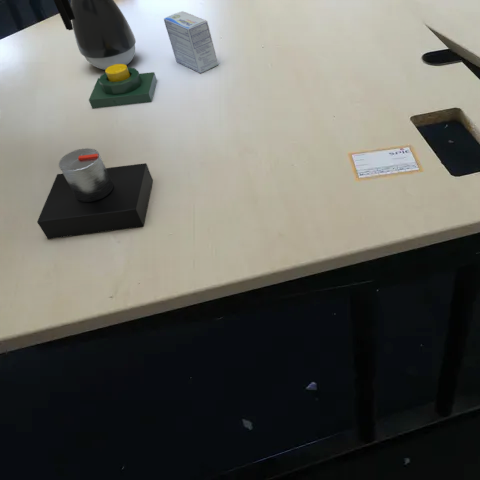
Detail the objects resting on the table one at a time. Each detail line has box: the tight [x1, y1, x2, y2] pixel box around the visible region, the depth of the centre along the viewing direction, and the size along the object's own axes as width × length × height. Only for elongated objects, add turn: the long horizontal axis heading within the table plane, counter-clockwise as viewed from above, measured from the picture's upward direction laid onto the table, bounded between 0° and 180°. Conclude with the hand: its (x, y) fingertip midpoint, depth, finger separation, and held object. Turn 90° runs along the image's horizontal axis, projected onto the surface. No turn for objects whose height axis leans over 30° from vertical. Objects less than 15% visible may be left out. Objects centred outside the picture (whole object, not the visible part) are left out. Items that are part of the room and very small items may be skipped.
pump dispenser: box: [70, 0, 136, 71], centre depth 98 cm, size 10×10×15 cm
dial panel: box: [36, 162, 154, 240], centre depth 71 cm, size 12×10×3 cm
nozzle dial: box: [58, 147, 113, 202], centre depth 68 cm, size 5×5×5 cm
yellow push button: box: [104, 64, 130, 82], centre depth 92 cm, size 4×4×2 cm
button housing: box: [88, 66, 158, 110], centre depth 93 cm, size 10×8×4 cm
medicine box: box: [163, 10, 219, 74], centre depth 99 cm, size 8×4×9 cm, turn 48°
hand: (27, 35), depth 65 cm, fingers open, 9 cm apart
